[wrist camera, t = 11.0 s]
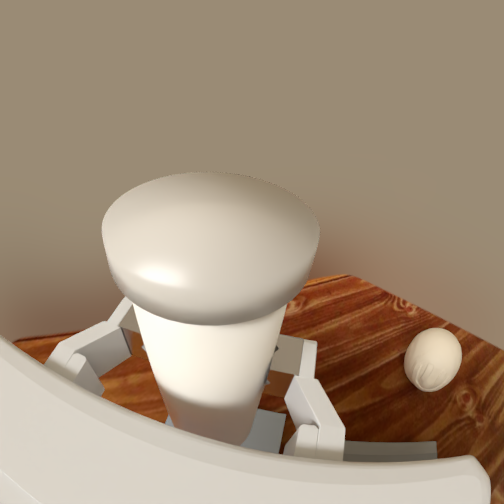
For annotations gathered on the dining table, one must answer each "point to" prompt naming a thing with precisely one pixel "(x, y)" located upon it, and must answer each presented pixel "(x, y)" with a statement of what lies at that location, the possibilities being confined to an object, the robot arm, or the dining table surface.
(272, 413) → the mat
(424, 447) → the socket collar
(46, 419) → the robot arm
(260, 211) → the plug
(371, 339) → the dining table surface
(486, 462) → the dining table surface
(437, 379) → the cream rounded ball
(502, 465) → the dining table surface
